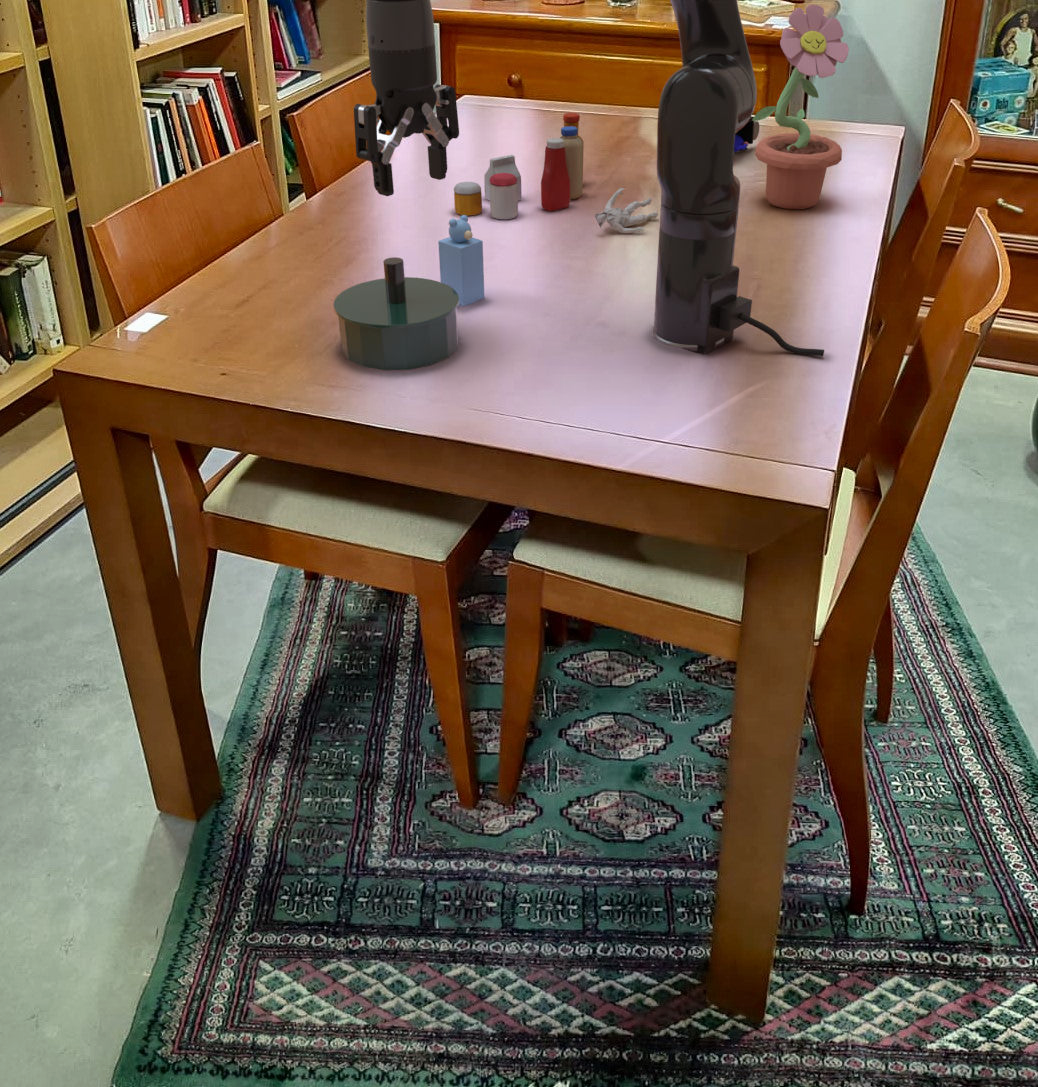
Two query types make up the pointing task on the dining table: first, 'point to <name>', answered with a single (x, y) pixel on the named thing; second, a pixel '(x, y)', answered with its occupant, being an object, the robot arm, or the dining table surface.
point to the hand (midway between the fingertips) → (412, 186)
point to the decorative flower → (802, 113)
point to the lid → (396, 300)
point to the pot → (399, 344)
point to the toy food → (505, 179)
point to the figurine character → (746, 135)
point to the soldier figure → (624, 215)
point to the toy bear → (462, 262)
